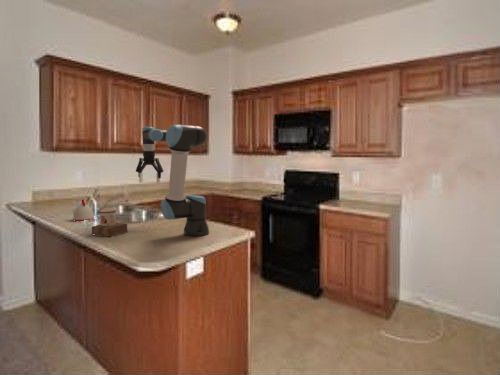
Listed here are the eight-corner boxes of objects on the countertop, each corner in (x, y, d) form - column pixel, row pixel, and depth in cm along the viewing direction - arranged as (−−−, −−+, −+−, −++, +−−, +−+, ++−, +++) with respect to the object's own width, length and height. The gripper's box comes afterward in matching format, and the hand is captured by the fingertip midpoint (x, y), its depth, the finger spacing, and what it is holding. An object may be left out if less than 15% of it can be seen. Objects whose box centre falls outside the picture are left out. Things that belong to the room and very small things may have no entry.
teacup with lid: (97, 225, 200) (96, 206, 198) (111, 222, 207) (110, 204, 206) (108, 228, 193) (107, 208, 191) (122, 225, 200) (121, 206, 199)
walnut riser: (127, 231, 205) (127, 223, 204) (110, 237, 191) (110, 228, 191) (109, 230, 209) (108, 222, 209) (91, 235, 196) (91, 226, 196)
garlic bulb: (92, 217, 250) (91, 197, 248) (96, 220, 239) (95, 200, 237) (71, 219, 242) (70, 199, 240) (75, 222, 231) (74, 201, 229)
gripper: (129, 150, 219) (130, 182, 221) (161, 150, 211) (162, 183, 213) (136, 150, 226) (137, 181, 228) (168, 150, 218) (169, 182, 220)
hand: (149, 182), depth 221 cm, fingers open, 13 cm apart
